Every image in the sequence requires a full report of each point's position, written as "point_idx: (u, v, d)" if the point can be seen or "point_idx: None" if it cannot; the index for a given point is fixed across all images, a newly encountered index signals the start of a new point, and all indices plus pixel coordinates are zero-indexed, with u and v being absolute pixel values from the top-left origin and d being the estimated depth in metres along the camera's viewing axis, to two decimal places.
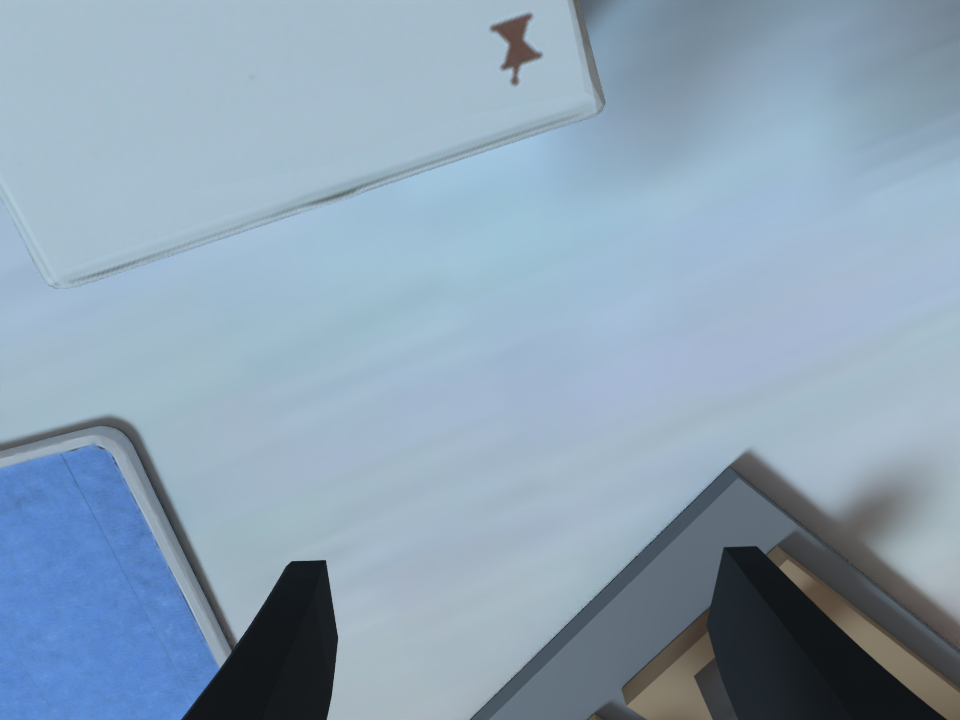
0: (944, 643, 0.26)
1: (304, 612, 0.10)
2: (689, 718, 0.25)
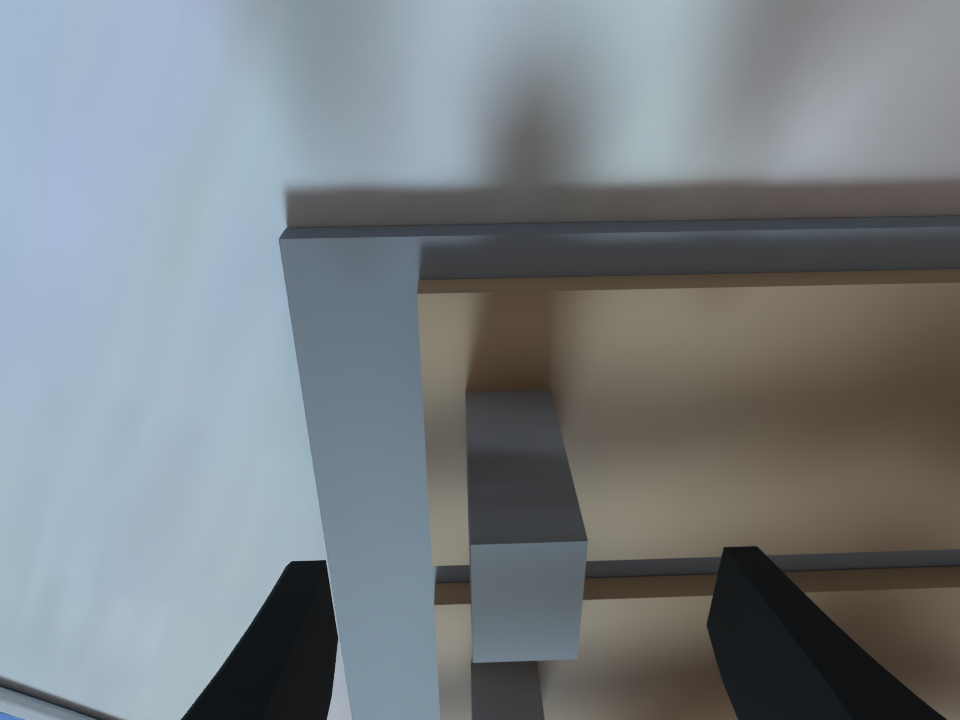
0: (790, 230, 0.15)
1: (304, 613, 0.10)
2: None
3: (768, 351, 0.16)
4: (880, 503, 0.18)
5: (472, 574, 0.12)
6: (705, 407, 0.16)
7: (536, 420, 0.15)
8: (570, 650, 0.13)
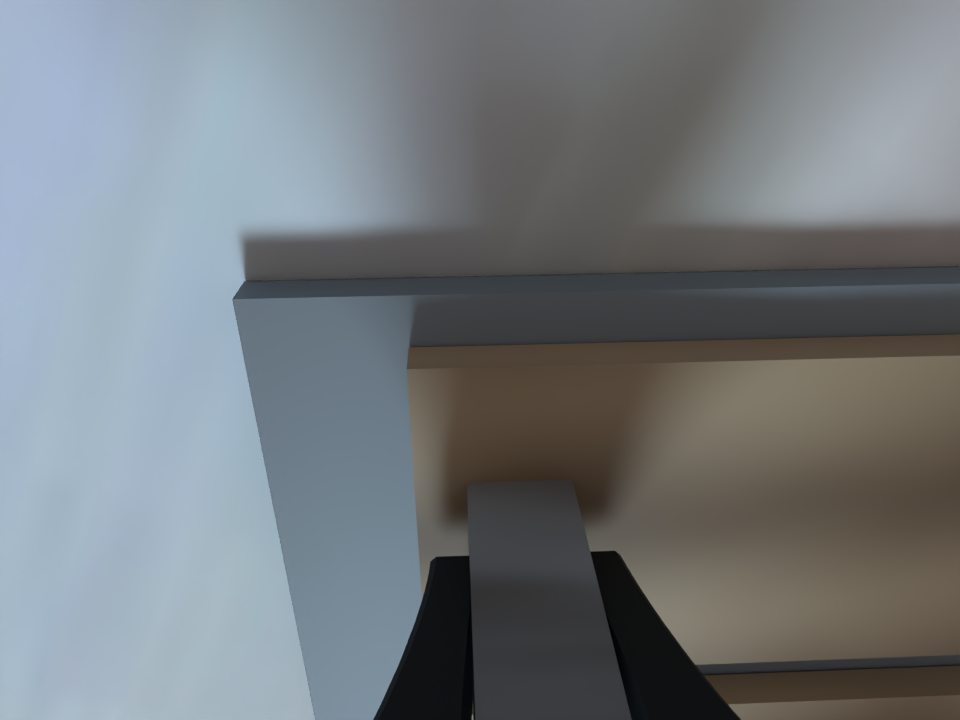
0: (873, 286, 0.12)
1: (468, 607, 0.11)
2: None
3: (842, 434, 0.13)
4: None
5: None
6: (761, 498, 0.13)
7: (556, 526, 0.12)
8: None
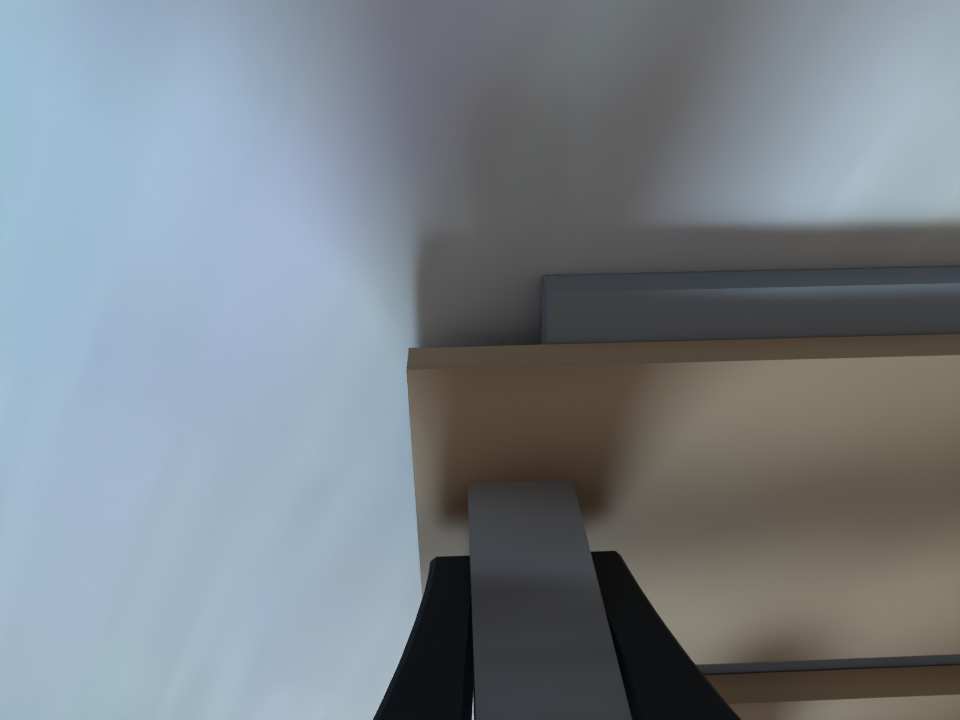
0: None
1: (468, 607, 0.11)
2: None
3: (843, 433, 0.13)
4: None
5: None
6: (762, 498, 0.13)
7: (557, 526, 0.12)
8: None
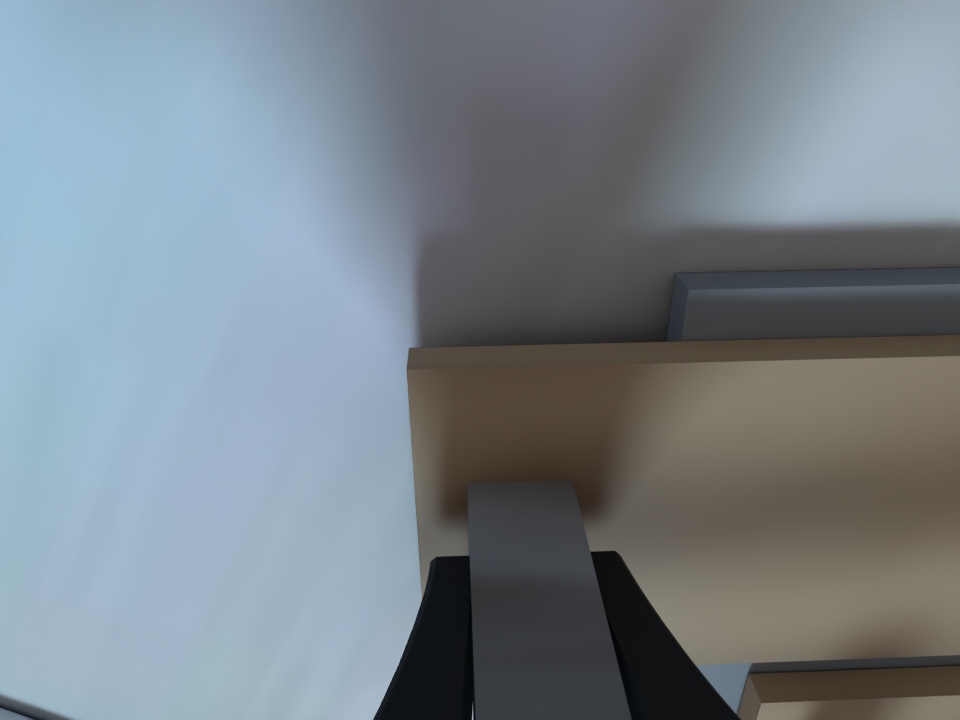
0: None
1: (468, 607, 0.11)
2: None
3: (842, 434, 0.13)
4: None
5: None
6: (761, 498, 0.13)
7: (556, 526, 0.12)
8: None
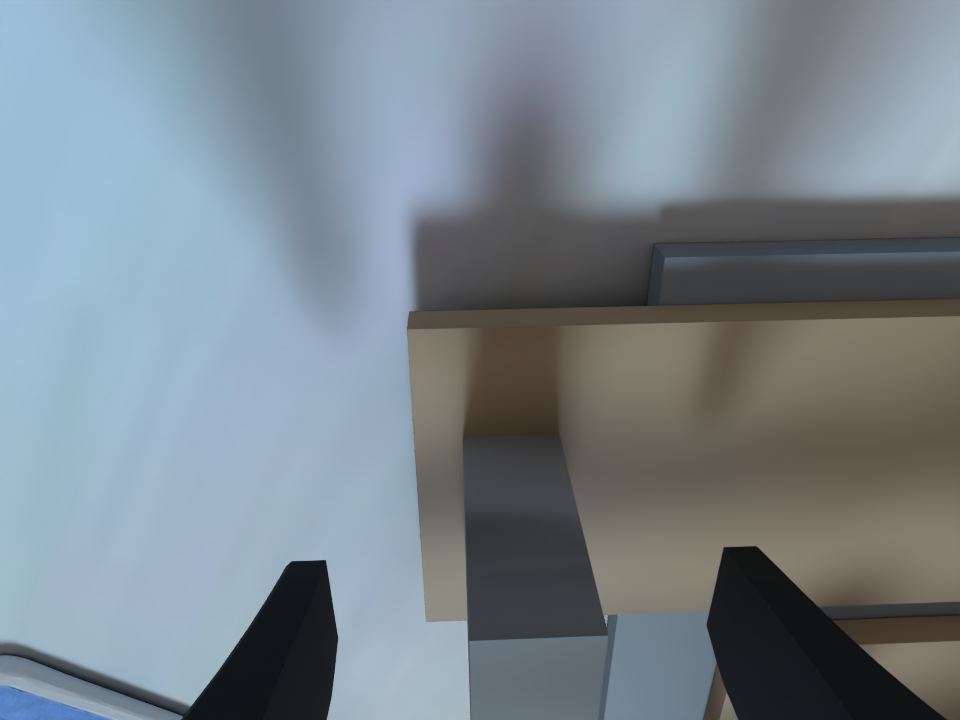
0: None
1: (304, 612, 0.10)
2: None
3: (805, 391, 0.14)
4: (923, 552, 0.16)
5: (471, 672, 0.10)
6: (732, 452, 0.15)
7: (543, 472, 0.13)
8: None
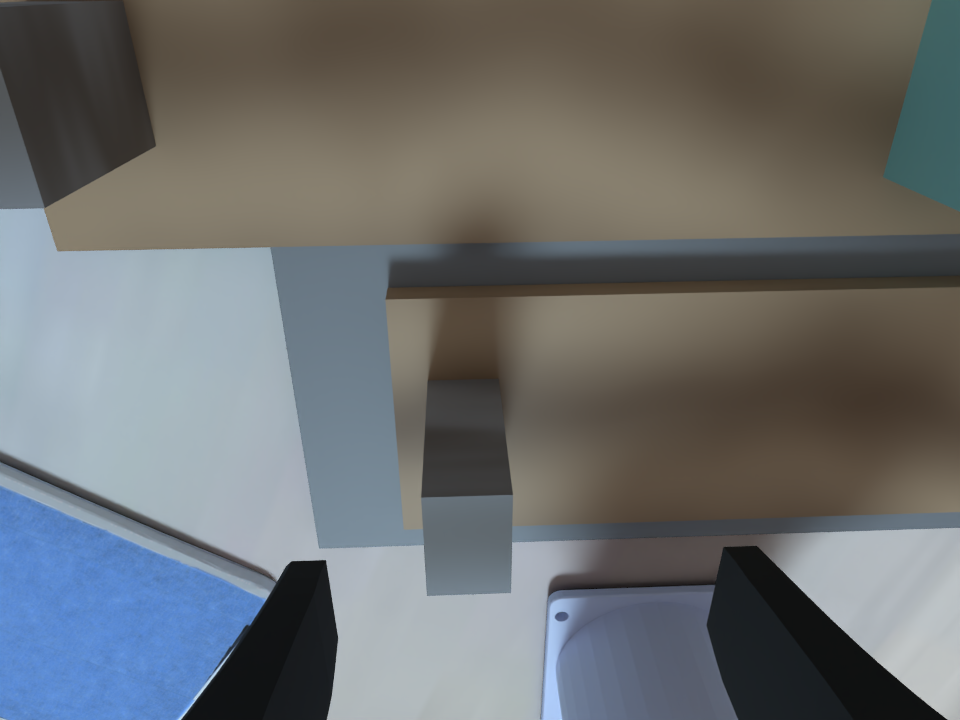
0: None
1: (304, 613, 0.10)
2: (140, 210, 0.17)
3: None
4: (537, 172, 0.17)
5: None
6: (306, 30, 0.15)
7: None
8: (32, 193, 0.11)
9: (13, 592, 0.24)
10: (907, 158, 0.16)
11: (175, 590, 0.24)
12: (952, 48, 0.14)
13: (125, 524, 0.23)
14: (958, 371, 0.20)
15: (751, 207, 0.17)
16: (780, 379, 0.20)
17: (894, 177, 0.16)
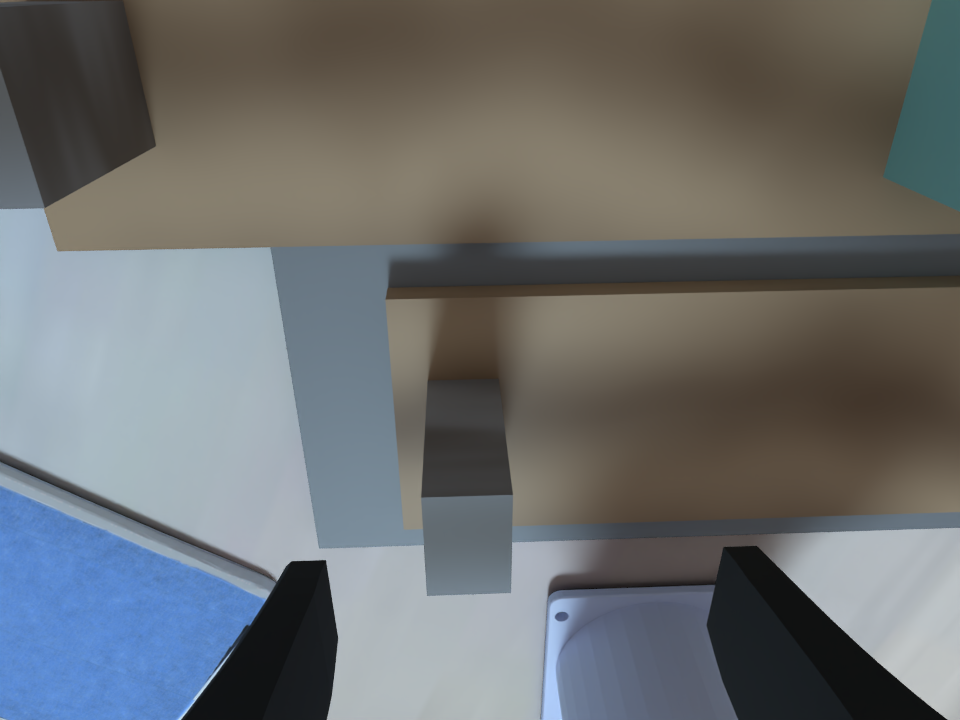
0: None
1: (304, 613, 0.10)
2: (140, 210, 0.17)
3: None
4: (537, 172, 0.17)
5: None
6: (306, 30, 0.15)
7: None
8: (32, 193, 0.11)
9: (13, 592, 0.24)
10: (907, 158, 0.16)
11: (175, 590, 0.24)
12: (952, 48, 0.14)
13: (125, 524, 0.23)
14: (958, 371, 0.20)
15: (751, 207, 0.17)
16: (780, 379, 0.20)
17: (894, 177, 0.16)
